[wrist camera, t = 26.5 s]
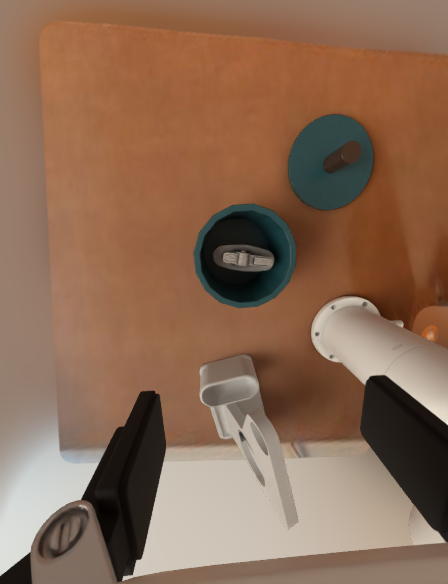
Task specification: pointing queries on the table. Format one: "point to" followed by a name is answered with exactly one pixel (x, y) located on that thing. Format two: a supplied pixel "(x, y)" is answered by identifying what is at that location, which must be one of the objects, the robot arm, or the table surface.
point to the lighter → (242, 257)
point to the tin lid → (330, 162)
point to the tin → (250, 231)
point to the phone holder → (248, 427)
